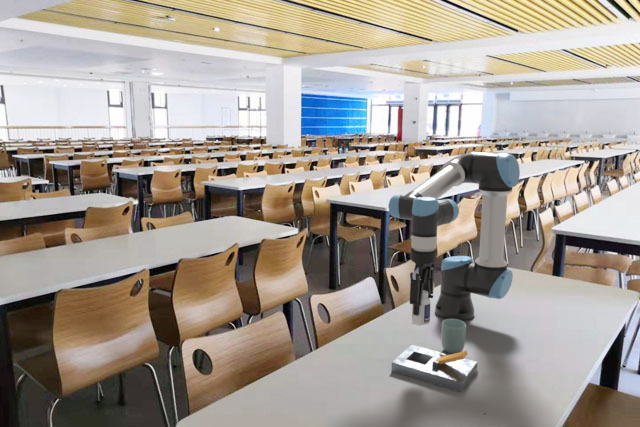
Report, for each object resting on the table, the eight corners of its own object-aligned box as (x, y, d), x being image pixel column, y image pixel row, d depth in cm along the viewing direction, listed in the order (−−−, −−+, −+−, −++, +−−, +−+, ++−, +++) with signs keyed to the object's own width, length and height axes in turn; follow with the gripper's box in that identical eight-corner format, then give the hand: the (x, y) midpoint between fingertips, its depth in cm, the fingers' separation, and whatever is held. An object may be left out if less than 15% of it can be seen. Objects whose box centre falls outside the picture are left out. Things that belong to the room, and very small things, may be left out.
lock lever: (439, 360, 161) (438, 356, 161) (468, 354, 155) (466, 349, 155) (434, 366, 157) (432, 362, 157) (463, 360, 152) (461, 355, 152)
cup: (448, 357, 169) (449, 329, 167) (436, 347, 176) (437, 320, 174) (469, 354, 171) (470, 326, 169) (456, 344, 178) (458, 317, 176)
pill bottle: (427, 318, 163) (428, 288, 161) (431, 325, 157) (432, 294, 155) (410, 318, 162) (411, 289, 161) (413, 325, 157) (415, 294, 155)
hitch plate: (411, 353, 172) (411, 339, 171) (476, 370, 160) (477, 356, 159) (391, 371, 160) (391, 356, 159) (460, 392, 148) (461, 376, 147)
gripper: (423, 240, 165) (421, 309, 169) (399, 253, 150) (396, 328, 154) (446, 244, 161) (443, 314, 165) (423, 257, 146) (420, 334, 150)
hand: (420, 320), depth 160 cm, fingers closed on pill bottle, 5 cm apart
